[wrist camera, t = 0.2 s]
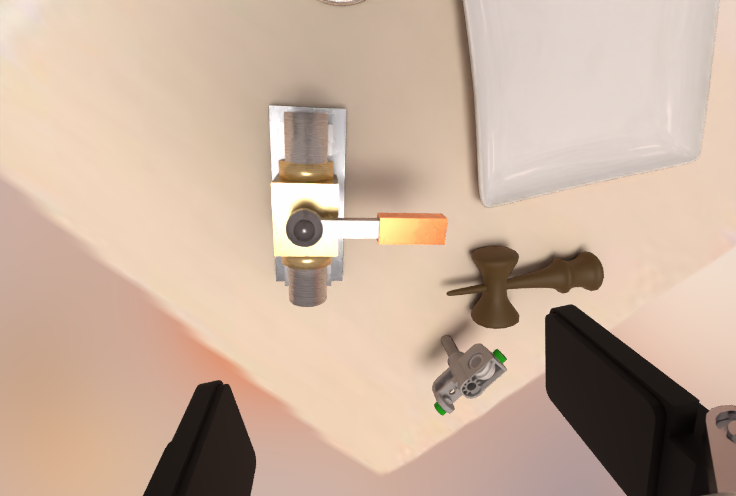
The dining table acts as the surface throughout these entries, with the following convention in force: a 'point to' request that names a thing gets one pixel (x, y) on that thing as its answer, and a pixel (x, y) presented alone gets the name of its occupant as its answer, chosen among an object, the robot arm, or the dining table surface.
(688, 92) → the square plate
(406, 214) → the lever
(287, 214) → the ball valve
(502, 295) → the kendama
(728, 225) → the dining table surface
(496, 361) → the mechanical component
